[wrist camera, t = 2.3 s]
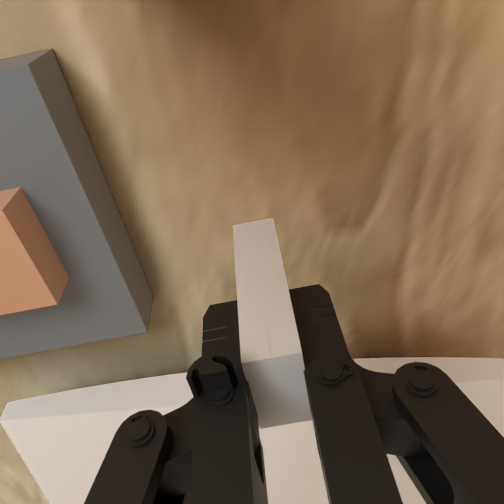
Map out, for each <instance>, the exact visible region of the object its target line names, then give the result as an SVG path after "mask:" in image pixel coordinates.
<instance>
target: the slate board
mask: <svg viewBox="0 0 504 504" xmlns="http://www.w3.org/2000/svg"><path fill="white" fill-rule="evenodd" d="M18 187H21V188H22V190H23V192H24V194H25V196H26V198H27V199H28V201H29V203H30V205H31V207H32V209H33V211H34V212H35V214H36V216H37V218H38V220H39V222H40V224H41V225H42V227H43V229H44V231H45V233H46V235H47V237H48V238H49V240H50V242H51V244H52V246H53V248H54V250H55V251H56V253H57V255H58V257H59V259H60V261H61V263H62V264H63V266H64V268H65V270H66V272H67V274H68V276H69V279H68V282H67V284H66V286H65V289H64V291H63V293H62V295H61V298H60V300H59V302H58V304H57V305H52V306H47V307H41V308H36V309H31V310H25V311H20V312H15V313H9V314H4V315H0V359H4V358H9V357H15V356H20V355H26V354H31V353H37V352H42V351H48V350H53V349H59V348H64V347H70V346H75V345H81V344H86V343H91V342H97V341H102V340H108V339H113V338H119V337H124V336H130V335H135V334H141V333H146V332H148V327H149V322H150V316H151V310H152V304H153V298H154V296H153V293H152V291H151V288H150V286H149V283H148V281H147V279H146V276H145V274H144V271H143V269H142V266H141V264H140V261H139V259H138V257H137V254H136V252H135V249H134V247H133V244H132V242H131V239H130V237H129V235H128V232H127V230H126V227H125V225H124V222H123V220H122V218H121V215H120V213H119V210H118V208H117V205H116V203H115V200H114V198H113V196H112V193H111V191H110V188H109V186H108V183H107V181H106V178H105V176H104V174H103V171H102V169H101V166H100V164H99V161H98V159H97V157H96V154H95V152H94V149H93V147H92V144H91V142H90V139H89V137H88V135H87V132H86V130H85V127H84V125H83V122H82V120H81V117H80V115H79V113H78V110H77V108H76V105H75V103H74V100H73V98H72V95H71V93H70V91H69V88H68V86H67V83H66V81H65V78H64V76H63V74H62V71H61V69H60V66H59V64H58V61H57V59H56V56H55V54H54V52H53V49H49V50H44V51H39V52H35V53H30V54H25V55H21V56H16V57H11V58H7V59H2V60H0V191H3V190H8V189H13V188H18Z"/></svg>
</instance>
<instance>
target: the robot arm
mask: <svg viewBox="0 0 504 504" xmlns="http://www.w3.org/2000/svg"><path fill="white" fill-rule="evenodd" d="M233 239H234V255H235V272H236V288H237V300H236V301H230V302H225V303H219V304H214V305H210V306H209V308H208V310H207V312H206V313H205V315H204V317H203V343H202V357H201V358H199V359H198V360H196V361H195V362H194V363H193V364H192V365H191V367H190V368H189V369H188V373H187V376H186V379H187V382H188V384H189V387H190V389H191V392H192V394H193V396H194V397H193V398H192V399H191V400H190V401H189V402H187V403H186V404H185V405H183V406H181V407H180V408H178V409H176V410H174V411H172V412H169V413H167V414H165V415H162V414H161V413H160V412H158V411H154V410H143V411H139V412H137V413H135V414H133V415H130V416H129V417H128V418H127V419H126V420H125V421H124V422H122V424H121V425H120V427H119V428H118V430H117V431H116V433H115V435H114V438H113V440H112V442H111V444H110V447H109V449H108V451H107V453H106V455H105V458H104V460H103V462H102V464H101V467H100V469H99V471H98V473H97V475H96V478H95V480H94V482H93V484H92V487H91V489H90V491H89V493H88V495H87V498H86V500H85V502H84V504H268V496H267V486H266V476H265V465H264V455H263V447H262V444H261V440H260V436H259V427H260V429H262V428H268V427H274V426H280V425H286V424H292V423H298V422H303V421H309V420H313V425H314V431H315V437H316V442H317V448H318V454H319V457H320V462H321V467H322V472H323V477H324V481H325V486H326V491H327V496H328V501H329V504H403V502H402V499H401V496H400V493H399V490H398V487H397V484H396V481H395V478H394V475H393V472H392V469H391V466H390V463H389V460H388V457H387V454H390V455H396V457H397V459H398V460H399V462H400V463H401V465H402V466H403V468H404V470H405V471H406V473H407V474H408V476H409V477H410V479H411V480H412V482H413V484H414V485H415V487H416V488H417V490H418V491H419V493H420V494H421V496H422V498H423V499H424V501H425V502H426V504H504V437H503V436H502V435H501V434H500V433H499V432H498V430H497V429H496V428H495V427H494V426H493V425H492V424H491V423H490V422H489V421H488V419H487V418H486V417H485V416H484V415H483V414H482V413H481V412H480V411H479V409H478V408H477V407H476V406H475V405H474V404H473V403H472V402H471V401H470V399H469V398H468V397H467V396H466V395H465V394H464V393H463V392H462V391H461V390H460V388H459V387H458V386H457V385H456V384H455V383H454V382H453V381H452V380H451V378H450V377H449V376H448V375H447V374H446V373H445V372H443V371H442V370H441V369H440V368H438V367H436V366H434V365H431V364H429V363H424V362H412V363H407V364H404V365H403V366H401V367H400V368H398V369H397V370H396V372H395V374H392V373H382V372H375V371H370V370H368V369H365V368H363V367H361V366H360V365H358V364H357V363H356V362H355V361H354V360H353V359H352V358H351V356H350V354H349V352H348V349H347V346H346V343H345V340H344V337H343V334H342V331H341V328H340V325H339V322H338V319H337V317H336V313H335V310H334V308H333V304H332V301H331V298H330V295H329V293H328V292H327V291H326V290H325V289H324V288H323V287H322V286H320V285H319V284H317V285H311V286H306V287H301V288H295V289H290V290H289V289H288V285H287V280H286V275H285V271H284V266H283V262H282V257H281V252H280V248H279V243H278V238H277V234H276V229H275V224H274V220H273V218H268V219H262V220H257V221H252V222H247V223H242V224H236V225H233Z"/></svg>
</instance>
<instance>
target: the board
mask: <svg viewBox="0 0 504 504" xmlns="http://www.w3.org/2000/svg"><path fill="white" fill-rule="evenodd" d="M353 360H354V361H355V362H356V363H357V364H358V365H360V366H361V367H363V368H365V369H368V370H370V371H375V372H382V373H392V374H395V372H396V370H397V369H398V368H400V367H401V366H403V365H404V364H407V363H412V362H424V363H429V364H431V365H434V366H436V367H438V368H440V369H441V370H442V371H443V372H445V373H446V374H447V375H448V376H449V377H450V378H451V380H452V381H453V382H454V383H455V384H456V385H457V386H458V387H459V388H460V390H461V391H462V392H463V393H464V394H465V395H466V396H467V397H468V398H469V399H470V401H471V402H472V403H473V404H474V405H475V406H476V407H477V408H478V409H479V411H480V412H481V413H482V414H483V415H484V416H485V417H486V418H487V419H488V421H489V422H490V423H491V424H492V425H493V426H494V427H495V428H496V429H497V430H498V432H499V433H500V434H501V435H502V436H503V437H504V358H462V357H402V358H361V359H353ZM187 373H188V372H186V373H178V374H170V375H163V376H155V377H148V378H141V379H135V380H128V381H122V382H115V383H109V384H103V385H97V386H91V387H85V388H79V389H74V390H68V391H63V392H57V393H52V394H47V395H41V396H36V397H31V398H26V399H21V400H16V401H11V402H7V404H6V406H5V409H4V411H3V413H2V415H1V417H0V423H1V425H2V427H3V428H4V430H5V431H6V433H7V435H8V436H9V438H10V440H11V441H12V443H13V445H14V446H15V448H16V449H17V451H18V453H19V454H20V456H21V458H22V459H23V461H24V463H25V464H26V466H27V467H28V469H29V471H30V472H31V474H32V476H33V477H34V479H35V481H36V482H37V484H38V485H39V487H40V489H41V490H42V492H43V494H44V495H45V497H46V499H47V500H48V502H49V504H84V502H85V500H86V498H87V495H88V493H89V491H90V489H91V487H92V484H93V482H94V480H95V478H96V475H97V473H98V471H99V469H100V467H101V464H102V462H103V460H104V458H105V455H106V453H107V451H108V449H109V447H110V444H111V442H112V440H113V438H114V435H115V433H116V431H117V430H118V428H119V427H120V425H121V424H122V422H124V421H125V420H126V419H127V418H128V417H129V416H130V415H133V414H135V413H137V412H139V411H143V410H154V411H158V412H160V413H161V414H162V415H165V414H167V413H169V412H172V411H174V410H176V409H178V408H180V407H181V406H183V405H185V404H186V403H187V402H189V401H190V400H191V399H192V398H193V397H194V396H193V394H192V392H191V389H190V387H189V384H188V382H187V379H186V376H187ZM259 436H260V440H261V444H262V447H263V455H264V465H265V476H266V486H267V496H268V504H329V501H328V496H327V491H326V486H325V481H324V477H323V472H322V467H321V462H320V457H319V454H318V448H317V442H316V437H315V431H314V425H313V420H309V421H303V422H298V423H292V424H286V425H280V426H274V427H268V428H262V429H260V427H259ZM387 457H388V460H389V463H390V466H391V469H392V472H393V475H394V478H395V481H396V484H397V487H398V490H399V493H400V496H401V499H402V502H403V504H426V502H425V501H424V499H423V498H422V496H421V494H420V493H419V491H418V490H417V488H416V487H415V485H414V484H413V482H412V480H411V479H410V477H409V476H408V474H407V473H406V471H405V470H404V468H403V466H402V465H401V463H400V462H399V460H398V459H397V457H396V455H390V454H387Z"/></svg>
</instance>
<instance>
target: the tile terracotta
mask: <svg viewBox="0 0 504 504" xmlns="http://www.w3.org/2000/svg"><path fill="white" fill-rule="evenodd" d="M68 279H69V276H68V274H67V272H66V270H65V268H64V266H63V264H62V263H61V261H60V259H59V257H58V255H57V253H56V251H55V250H54V248H53V246H52V244H51V242H50V240H49V238H48V237H47V235H46V233H45V231H44V229H43V227H42V225H41V224H40V222H39V220H38V218H37V216H36V214H35V212H34V211H33V209H32V207H31V205H30V203H29V201H28V199H27V198H26V196H25V194H24V192H23V190H22V188H21V187H18V188H13V189H8V190H3V191H0V315H4V314H9V313H15V312H20V311H25V310H31V309H36V308H41V307H47V306H52V305H57V304H58V302H59V300H60V298H61V295H62V293H63V291H64V289H65V286H66V284H67V282H68Z"/></svg>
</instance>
